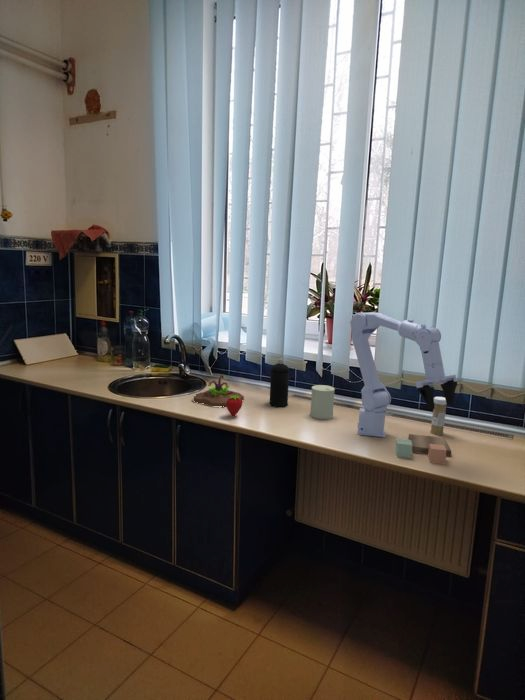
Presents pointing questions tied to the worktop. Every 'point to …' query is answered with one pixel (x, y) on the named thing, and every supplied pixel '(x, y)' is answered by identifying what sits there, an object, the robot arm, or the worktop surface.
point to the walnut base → (427, 443)
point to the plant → (216, 394)
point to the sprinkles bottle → (438, 415)
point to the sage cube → (403, 448)
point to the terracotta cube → (437, 453)
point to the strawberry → (234, 404)
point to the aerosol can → (279, 384)
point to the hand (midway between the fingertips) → (441, 406)
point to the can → (322, 402)
